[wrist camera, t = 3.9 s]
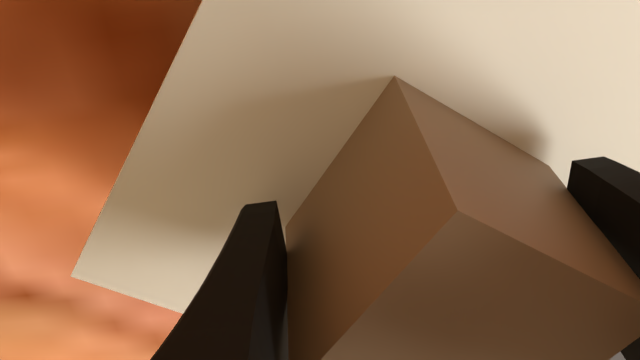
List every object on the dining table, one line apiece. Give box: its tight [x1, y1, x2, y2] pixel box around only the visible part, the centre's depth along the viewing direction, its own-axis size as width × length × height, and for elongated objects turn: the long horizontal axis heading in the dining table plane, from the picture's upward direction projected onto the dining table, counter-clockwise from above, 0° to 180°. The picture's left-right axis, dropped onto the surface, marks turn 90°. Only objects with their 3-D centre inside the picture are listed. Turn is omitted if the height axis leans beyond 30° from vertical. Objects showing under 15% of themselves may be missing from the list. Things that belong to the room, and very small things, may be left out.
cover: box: [71, 0, 640, 360], centre depth 10 cm, size 11×11×5 cm
